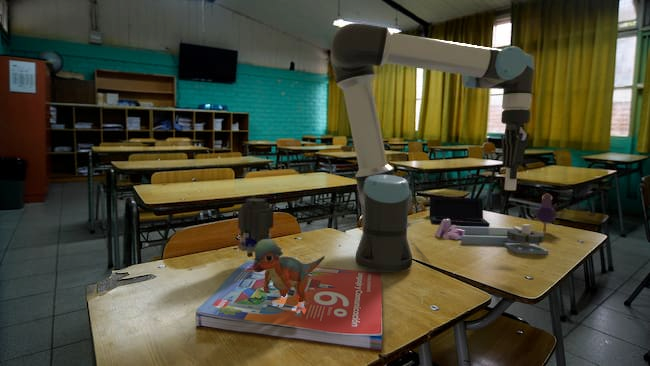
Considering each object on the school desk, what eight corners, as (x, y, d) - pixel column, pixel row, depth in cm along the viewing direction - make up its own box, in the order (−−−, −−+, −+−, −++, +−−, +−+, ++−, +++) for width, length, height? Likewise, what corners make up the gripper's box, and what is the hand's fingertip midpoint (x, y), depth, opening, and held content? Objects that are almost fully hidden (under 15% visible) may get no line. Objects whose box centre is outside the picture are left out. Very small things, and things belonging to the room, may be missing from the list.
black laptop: (432, 226, 147) (433, 200, 146) (428, 218, 163) (429, 195, 162) (489, 229, 143) (490, 203, 142) (479, 221, 159) (481, 198, 158)
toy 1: (264, 250, 107) (265, 197, 106) (278, 257, 100) (278, 201, 98) (235, 254, 102) (235, 198, 101) (247, 262, 95) (247, 203, 94)
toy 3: (564, 214, 139) (547, 205, 144) (563, 198, 131) (545, 189, 136) (544, 236, 139) (528, 226, 144) (542, 221, 131) (524, 211, 136)
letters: (466, 238, 128) (467, 221, 127) (454, 241, 124) (455, 223, 123) (445, 234, 134) (446, 217, 133) (433, 236, 130) (434, 219, 129)
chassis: (473, 252, 110) (474, 226, 109) (447, 232, 135) (448, 211, 134) (557, 254, 110) (559, 228, 109) (515, 234, 134) (517, 213, 134)
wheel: (517, 242, 109) (517, 236, 109) (502, 235, 119) (502, 228, 119) (550, 243, 109) (551, 236, 109) (533, 236, 119) (533, 229, 118)
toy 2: (255, 327, 67) (253, 243, 66) (241, 305, 77) (239, 232, 76) (347, 307, 75) (347, 232, 74) (324, 290, 85) (324, 223, 83)
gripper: (541, 108, 105) (534, 192, 107) (518, 112, 118) (512, 188, 120) (513, 107, 105) (507, 192, 107) (494, 111, 118) (488, 187, 120)
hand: (510, 189), depth 114 cm, fingers closed
